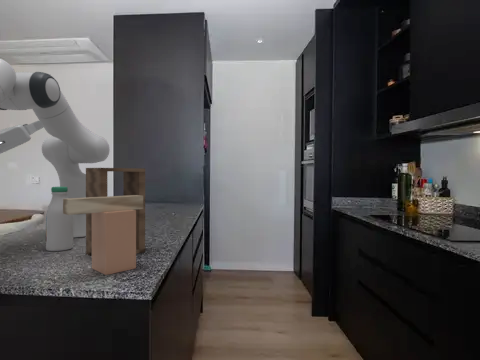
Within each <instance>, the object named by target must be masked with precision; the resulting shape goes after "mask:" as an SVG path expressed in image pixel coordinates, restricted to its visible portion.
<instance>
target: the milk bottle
mask: <svg viewBox="0 0 480 360" xmlns="http://www.w3.org/2000/svg"><path fill="white" fill-rule="evenodd" d="M50 190H51V195H52V196H51V199H50V203H49V204H48V206H47V209H46V212H45V249H46V251H49V252H60V251H68V250H71V249H73V248H74V237H73V215H67V214H63V199H68V198H67V191H68V188H67V187H60V186H52V187H51V188H50Z"/></svg>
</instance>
